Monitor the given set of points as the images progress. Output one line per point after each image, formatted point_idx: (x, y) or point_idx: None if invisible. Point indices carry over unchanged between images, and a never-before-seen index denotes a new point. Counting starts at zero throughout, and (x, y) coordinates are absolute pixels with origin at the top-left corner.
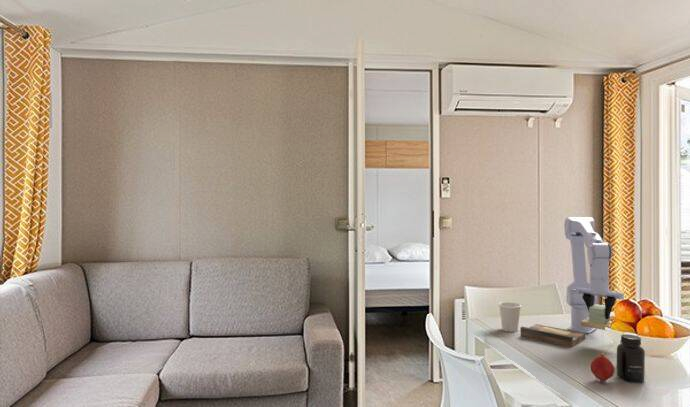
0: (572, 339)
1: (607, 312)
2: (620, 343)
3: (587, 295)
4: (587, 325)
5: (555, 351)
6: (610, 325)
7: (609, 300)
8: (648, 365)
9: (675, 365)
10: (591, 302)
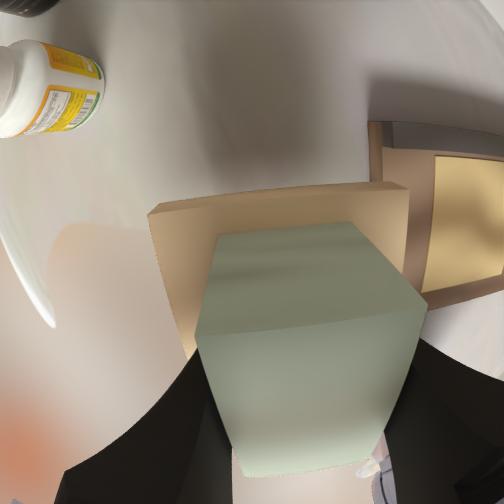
0: (385, 141)
1: (189, 366)
2: (44, 47)
3: (494, 481)
4: (345, 185)
5: (382, 18)
6: (160, 251)
7: (74, 500)
8: (41, 155)
9: (14, 236)
10: (417, 435)
